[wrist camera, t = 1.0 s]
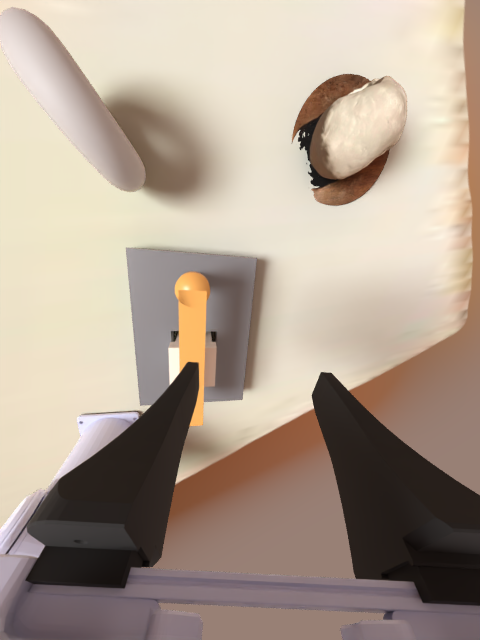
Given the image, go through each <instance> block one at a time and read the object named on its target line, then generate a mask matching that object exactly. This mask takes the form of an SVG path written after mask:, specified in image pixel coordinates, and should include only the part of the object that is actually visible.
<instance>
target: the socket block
mask: <svg viewBox="0 0 480 640" xmlns="http://www.w3.org/2000/svg"><path fill="white" fill-rule="evenodd" d="M126 255H127V266H128V277H129V288H130V299H131V310H132V321H133V332H134V343H135V354H136V365H137V376H138V387H139V398H140V406H141V405H153V404H154V403H155V401H156V400H157V399H158V398H159V397H160V396H161V395H162V394H163V393H164V392H165V390H166V389H167V388H168V387H169V386H170V380H169V350H168V348H169V345H170V342H174V331H179V300H178V299H177V297H176V295H175V285H176V282H177V280H178V279H179V278H180V277H181V276H182V275H183V274H184V273H186V272H190V271H195V272H199V273H201V274H202V275H204V276H205V277H206V278H207V280H208V282H209V286H210V296H209V298H208V300H207V301H206V331H216V333H215V342H216V346H217V352H216V372H215V386H213V387H204V402H212V401H230V400H242V399H243V389H244V379H245V370H246V360H247V350H248V340H249V331H250V321H251V311H252V301H253V292H254V282H255V272H256V262H257V258H250V257H238V256H226V255H214V254H201V253H189V252H177V251H165V250H153V249H140V248H126Z"/></svg>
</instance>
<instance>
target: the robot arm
mask: <svg viewBox="0 0 480 640" xmlns="http://www.w3.org/2000/svg"><path fill="white" fill-rule="evenodd" d="M198 392H199V362H187V363H186V364H185V366H184V367H183V369H182V370H181V372H180V373H179V374H178V376H177V377H176V378H175V380H174V381H173V382H172V383H171V384H170V386H169V387H168V388H167V389H166V390H165V392H164V393H163V394H162V395H161V396H160V397H159V398H158V399H157V400H156V401H155V403H154V404H153V405H152V406H151V407H150V408H149V409H148V410H147V411H146V412H145V413H144V414H143V415H141V416H140V417H139V413H138V412H123V413H107V414H91V415H80V416H79V417H78V418H77V423H78V427H79V432H80V439H79V440H78V442H77V443H76V445H75V446H74V448H73V449H72V451H71V452H70V454H69V455H68V457H67V459H66V460H65V462H64V463H63V465H62V466H61V468H60V469H59V471H58V472H57V474H56V475H55V477H54V478H53V480H52V482H51V483H50V485H49V486H48V488H47V489H46V490H43V489H38V490H37V491H36V492H33V493H31V494H29V495H28V496H27V497H26V498H25V499H24V500H23V501H22V502H21V504H20V505H19V506H18V507H17V508H16V510H15V511H14V512H13V514H12V515H11V516H10V517H9V519H8V520H7V521H6V523H5V524H4V525H3V526H2V528H1V529H0V640H201V638H202V628H203V622H202V620H201V617H200V615H199V614H197V613H189V612H182V611H173V610H161V608H160V606H159V604H158V603H177V604H198V605H199V604H201V605H219V606H220V605H221V606H241V607H262V608H285V609H305V610H326V611H347V612H368V613H386V614H385V615H384V617H383V620H368V621H366V620H364V621H360V622H359V623H355V624H350V625H342V626H341V634H342V638H343V640H480V495H478V494H477V493H475V492H474V491H472V490H470V489H469V488H467V487H465V486H464V485H462V484H461V483H459V482H458V481H456V480H455V479H453V478H452V477H450V476H449V475H447V474H446V473H445V472H443V471H442V470H440V469H439V468H437V467H436V466H434V465H433V464H432V463H430V462H429V461H427V460H426V459H425V458H423V457H422V456H421V455H419V454H418V453H417V452H416V451H414V450H413V449H412V448H410V447H409V446H408V445H406V444H405V443H404V442H403V441H401V440H400V439H399V438H398V437H397V436H395V435H394V434H393V433H392V432H391V431H389V430H388V429H387V428H386V427H385V426H384V425H383V424H381V423H380V422H379V421H378V420H377V419H376V418H375V417H374V416H373V415H372V414H371V413H370V412H369V411H368V410H367V409H366V408H365V407H363V405H361V403H359V402H358V400H357V399H356V398H355V397H354V396H353V395H352V394H351V393H350V392H349V391H348V390H347V389H346V388H345V387H344V386H343V385H342V384H341V383H340V381H339V380H338V379H337V378H336V377H335V376H334V375H333V374H332V373H326V372H321V374H320V376H319V379H318V381H317V383H316V386H315V388H314V391H313V393H312V399H313V404H314V409H315V413H316V416H317V419H318V422H319V425H320V428H321V431H322V434H323V437H324V439H325V442H326V445H327V448H328V451H329V454H330V457H331V461H332V464H333V468H334V472H335V476H336V480H337V485H338V489H339V494H340V498H341V503H342V507H343V513H344V518H345V523H346V527H347V533H348V539H349V545H350V550H351V556H352V563H353V570H354V574H355V577H356V579H348V578H326V577H309V576H308V577H307V576H289V575H270V574H269V575H268V574H251V573H250V574H249V573H230V572H212V571H191V570H172V569H154V568H141V567H153V566H154V565H155V564H156V563H157V562H158V560H159V559H160V558H161V555H162V549H163V544H164V538H165V533H166V528H167V522H168V517H169V512H170V507H171V502H172V496H173V492H174V487H175V482H176V477H177V472H178V467H179V463H180V458H181V454H182V450H183V446H184V442H185V439H186V436H187V432H188V429H189V426H190V423H191V419H192V416H193V413H194V409H195V406H196V402H197V397H198ZM82 421H83V422H82Z"/></svg>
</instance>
